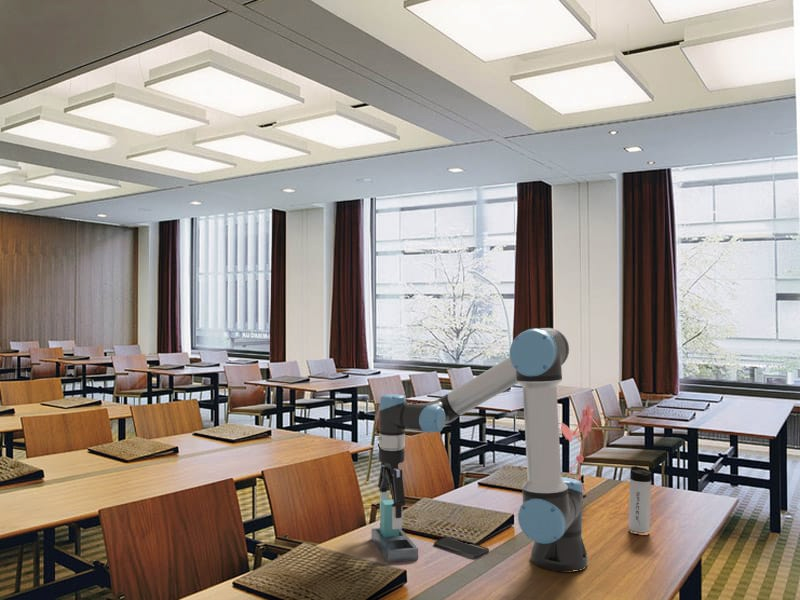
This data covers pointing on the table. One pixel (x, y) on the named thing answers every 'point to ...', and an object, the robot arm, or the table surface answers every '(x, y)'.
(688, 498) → the table surface
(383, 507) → the square peg
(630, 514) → the travel mug
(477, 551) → the phone
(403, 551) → the grey hollow block
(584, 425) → the pink flower branch
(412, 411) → the robot arm
